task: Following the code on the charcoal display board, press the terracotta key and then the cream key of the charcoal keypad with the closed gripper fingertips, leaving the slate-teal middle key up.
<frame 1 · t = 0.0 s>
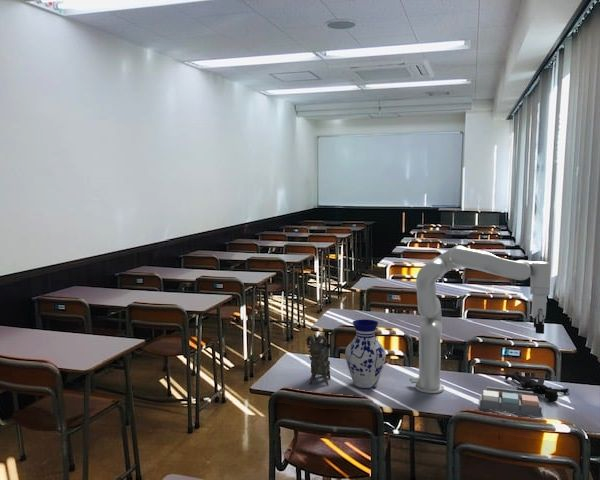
hand: (538, 330, 216), 31 cm above the table, tool pointing down, fingers open, 9 cm apart
keypad: (509, 407, 214), on the table
toy: (531, 392, 231), on the table
cream key: (490, 396, 215), point 4 cm above the table, slide at 0.0 cm
vase: (365, 385, 241), on the table
teal key: (510, 399, 212), point 4 cm above the table, slide at 0.0 cm
terracotta key: (529, 401, 209), point 4 cm above the table, slide at 0.0 cm
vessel: (319, 381, 245), on the table
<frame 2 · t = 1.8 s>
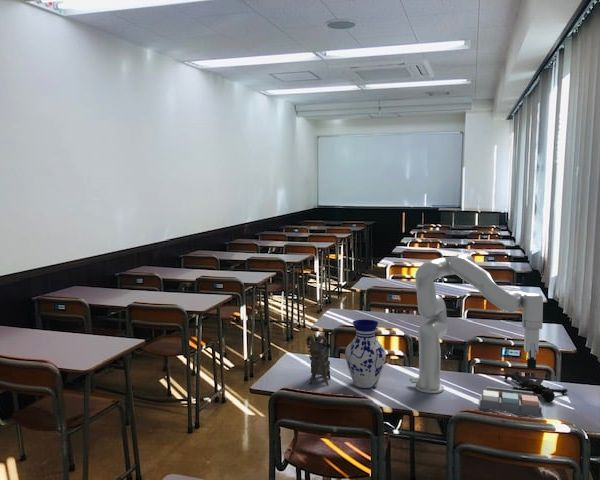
hand: (531, 367, 208), 18 cm above the table, tool pointing down, fingers closed
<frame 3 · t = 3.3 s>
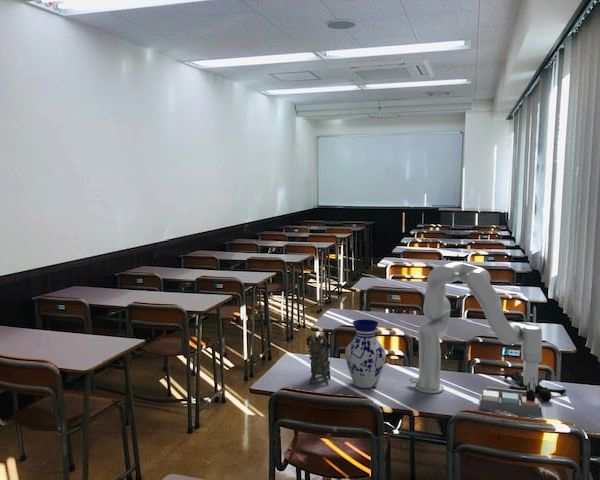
hand: (530, 399, 209), 5 cm above the table, tool pointing down, fingers closed
terracotta key: (529, 403, 209), point 3 cm above the table, slide at 0.8 cm, touching gripper
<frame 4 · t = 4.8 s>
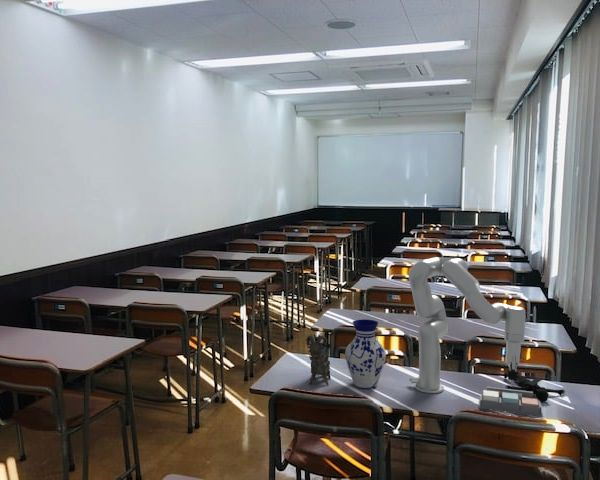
hand: (512, 379, 211), 12 cm above the table, tool pointing down, fingers closed
terracotta key: (529, 404, 209), point 3 cm above the table, slide at 1.2 cm
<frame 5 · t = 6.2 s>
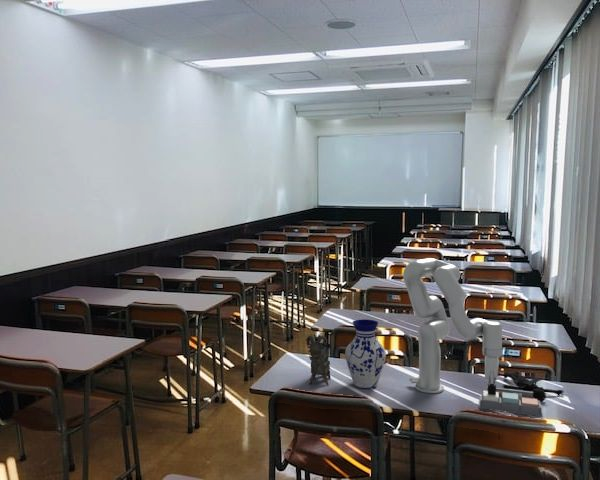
hand: (491, 393, 214), 5 cm above the table, tool pointing down, fingers closed
cream key: (490, 397, 215), point 4 cm above the table, slide at 0.2 cm, touching gripper
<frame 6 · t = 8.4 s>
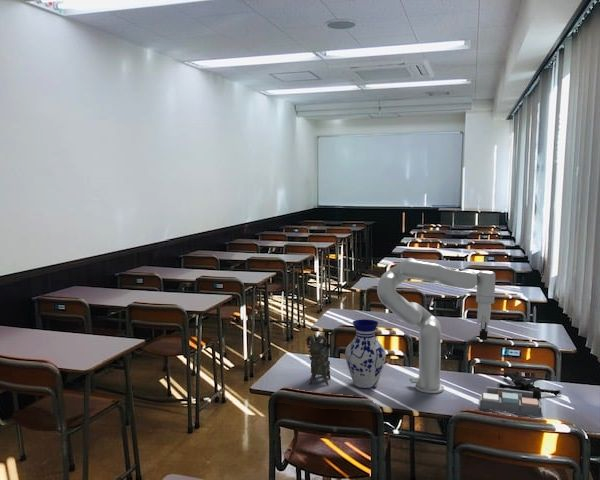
hand: (483, 339, 227), 25 cm above the table, tool pointing down, fingers closed
cream key: (490, 399, 215), point 3 cm above the table, slide at 1.2 cm
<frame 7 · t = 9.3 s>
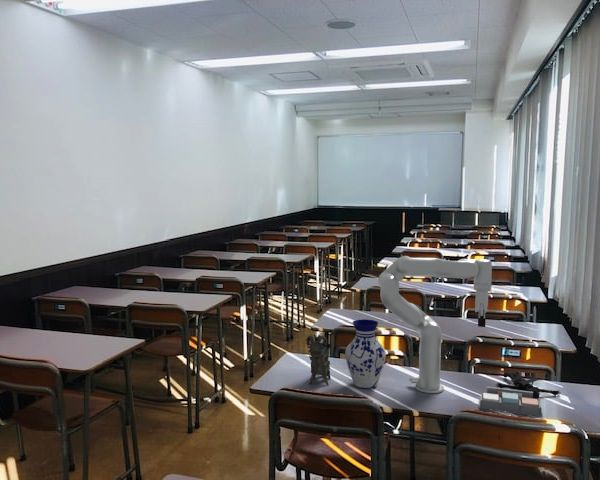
hand: (481, 326, 232), 29 cm above the table, tool pointing down, fingers closed
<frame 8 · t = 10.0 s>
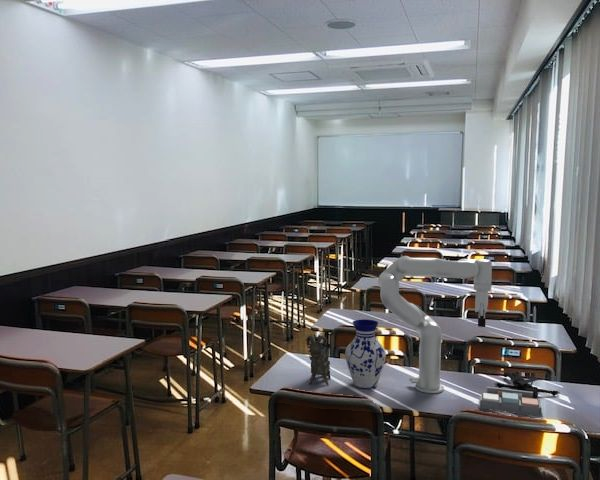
hand: (481, 326, 232), 29 cm above the table, tool pointing down, fingers closed
at the end: terracotta key slide at 1.2 cm; cream key slide at 1.2 cm; teal key slide at 0.0 cm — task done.
